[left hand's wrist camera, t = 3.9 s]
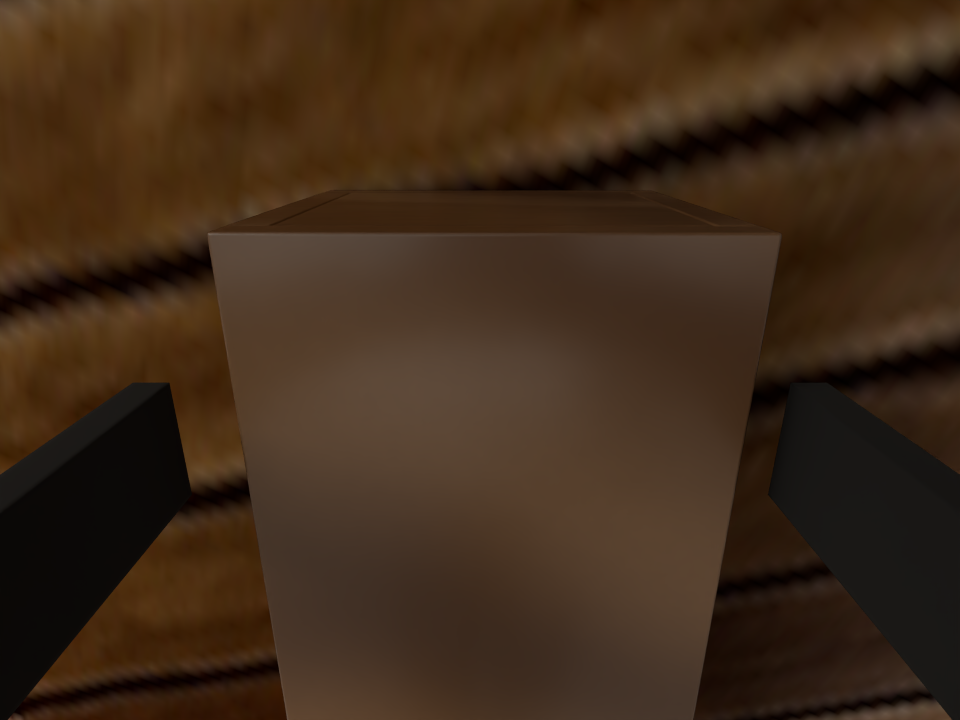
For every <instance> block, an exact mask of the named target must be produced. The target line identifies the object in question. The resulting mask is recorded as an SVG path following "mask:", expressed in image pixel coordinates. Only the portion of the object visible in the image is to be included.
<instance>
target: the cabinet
mask: <svg viewBox="0 0 960 720" xmlns="http://www.w3.org/2000/svg"><path fill="white" fill-rule="evenodd" d="M207 237H208V243H209V249H210V255H211V261H212V267H213V273H214V279H215V285H216V291H217V297H218V303H219V309H220V315H221V321H222V327H223V333H224V339H225V345H226V351H227V358H228V364H229V370H230V376H231V382H232V388H233V394H234V400H235V406H236V412H237V418H238V424H239V430H240V436H241V442H242V448H243V454H244V460H245V466H246V472H247V478H248V484H249V490H250V496H251V502H252V508H253V515H254V521H255V527H256V533H257V539H258V545H259V551H260V557H261V563H262V569H263V575H264V581H265V587H266V593H267V599H268V605H269V611H270V617H271V623H272V629H273V635H274V641H275V647H276V653H277V659H278V666H279V672H280V678H281V684H282V690H283V696H284V702H285V708H286V714H287V720H693V718H694V713H695V707H696V702H697V696H698V691H699V685H700V680H701V675H702V669H703V664H704V658H705V653H706V647H707V642H708V636H709V631H710V625H711V620H712V614H713V609H714V604H715V598H716V593H717V587H718V582H719V576H720V571H721V565H722V560H723V554H724V549H725V544H726V538H727V533H728V527H729V522H730V516H731V511H732V505H733V500H734V494H735V489H736V484H737V478H738V473H739V467H740V462H741V456H742V451H743V445H744V440H745V434H746V429H747V423H748V418H749V413H750V407H751V402H752V396H753V391H754V385H755V380H756V374H757V369H758V363H759V358H760V353H761V347H762V342H763V336H764V331H765V325H766V320H767V314H768V309H769V303H770V298H771V292H772V287H773V282H774V276H775V271H776V265H777V260H778V254H779V249H780V243H781V238H782V235H781V233H779V232H776V231H773V230H770V229H767V228H764V227H761V226H757V225H754V224H751V223H748V222H745V221H742V220H739V219H736V218H733V217H730V216H727V215H724V214H721V213H718V212H715V211H712V210H709V209H706V208H702V207H699V206H696V205H693V204H690V203H687V202H684V201H681V200H678V199H675V198H672V197H669V196H666V195H663V194H660V193H657V192H654V191H592V190H330V191H327V192H325V193H321V194H318V195H315V196H312V197H309V198H306V199H303V200H300V201H297V202H294V203H291V204H288V205H285V206H282V207H279V208H277V209H274V210H271V211H268V212H265V213H262V214H259V215H256V216H253V217H250V218H247V219H244V220H241V221H238V222H236V223H233V224H230V225H227V226H224V227H222V228H219V229H216V230H213V231H210V232H208V234H207Z"/></svg>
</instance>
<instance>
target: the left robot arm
mask: <svg viewBox="0 0 960 720" xmlns="http://www.w3.org/2000/svg"><path fill="white" fill-rule="evenodd" d="M191 495H192V493H191V488H190V483H189V478H188V473H187V468H186V463H185V458H184V453H183V448H182V443H181V438H180V433H179V428H178V423H177V419H176V414H175V409H174V404H173V399H172V394H171V389H170V384H169V383H132V384H131V385H129V386H128V387H126V388H125V389H123V390H122V391H120V392H119V393H118V394H116V395H115V396H113V397H112V398H110V399H109V400H107V401H106V402H105V403H103V404H102V405H100V406H99V407H97V408H96V409H94V410H93V411H92V412H90V413H89V414H87V415H86V416H84V417H83V418H81V419H80V420H79V421H77V422H76V423H74V424H73V425H71V426H70V427H68V428H67V429H66V430H64V431H63V432H61V433H60V434H58V435H57V436H56V437H54V438H53V439H51V440H50V441H48V442H47V443H45V444H44V445H43V446H41V447H40V448H38V449H37V450H35V451H34V452H32V453H31V454H30V455H28V456H27V457H25V458H24V459H22V460H21V461H19V462H18V463H17V464H15V465H14V466H12V467H11V468H9V469H8V470H6V471H5V472H4V473H2V474H1V475H0V720H8V719H9V717H10V716H11V715H12V714H13V713H14V711H15V710H16V709H17V708H18V706H19V705H20V704H21V703H22V702H23V700H24V699H25V698H26V697H27V695H28V694H29V693H30V692H31V691H32V689H33V688H34V687H35V686H36V684H37V683H38V682H39V681H40V680H41V678H42V677H43V676H44V675H45V673H46V672H47V671H48V670H49V669H50V667H51V666H52V665H53V664H54V662H55V661H56V660H57V659H58V658H59V656H60V655H61V654H62V653H63V651H64V650H65V649H66V648H67V647H68V645H69V644H70V643H71V642H72V640H73V639H74V638H75V637H76V636H77V634H78V633H79V632H80V631H81V629H82V628H83V627H84V626H85V625H86V623H87V622H88V621H89V620H90V618H91V617H92V616H93V615H94V614H95V612H96V611H97V610H98V609H99V607H100V606H101V605H102V604H103V603H104V601H105V600H106V599H107V598H108V596H109V595H110V594H111V593H112V592H113V590H114V589H115V588H116V587H117V585H118V584H119V583H120V582H121V581H122V579H123V578H124V577H125V576H126V574H127V573H128V572H129V571H130V570H131V568H132V567H133V566H134V565H135V563H136V562H137V561H138V560H139V559H140V557H141V556H142V555H143V554H144V552H145V551H146V550H147V549H148V548H149V546H150V545H151V544H152V543H153V541H154V540H155V539H156V538H157V537H158V535H159V534H160V533H161V532H162V530H163V529H164V528H165V527H166V526H167V524H168V523H169V522H170V521H171V519H172V518H173V517H174V516H175V515H176V513H177V512H178V511H179V510H180V508H181V507H182V506H183V505H184V504H185V502H186V501H187V500H188V499H189V497H190V496H191ZM768 495H769V496H770V497H771V499H772V500H773V501H774V502H775V504H776V505H777V506H778V507H779V508H780V510H781V511H782V512H783V513H784V515H785V516H786V517H787V518H788V519H789V521H790V522H791V523H792V524H793V526H794V527H795V528H796V529H797V530H798V532H799V533H800V534H801V535H802V537H803V538H804V539H805V540H806V541H807V543H808V544H809V545H810V546H811V548H812V549H813V550H814V551H815V552H816V554H817V555H818V556H819V557H820V559H821V560H822V561H823V562H824V563H825V565H826V566H827V567H828V568H829V570H830V571H831V572H832V573H833V574H834V576H835V577H836V578H837V579H838V581H839V582H840V583H841V584H842V585H843V587H844V588H845V589H846V590H847V592H848V593H849V594H850V595H851V596H852V598H853V599H854V600H855V601H856V603H857V604H858V605H859V606H860V607H861V609H862V610H863V611H864V612H865V614H866V615H867V616H868V617H869V618H870V620H871V621H872V622H873V623H874V625H875V626H876V627H877V628H878V629H879V631H880V632H881V633H882V634H883V636H884V637H885V638H886V639H887V640H888V642H889V643H890V644H891V645H892V647H893V648H894V649H895V650H896V651H897V653H898V654H899V655H900V656H901V658H902V659H903V660H904V661H905V662H906V664H907V665H908V666H909V667H910V669H911V670H912V671H913V672H914V673H915V675H916V676H917V677H918V678H919V680H920V681H921V682H922V683H923V684H924V686H925V687H926V688H927V689H928V691H929V692H930V693H931V694H932V695H933V697H934V698H935V699H936V700H937V702H938V703H939V704H940V705H941V706H942V708H943V709H944V710H945V711H946V713H947V714H948V715H949V716H950V717H951V719H952V720H960V475H959V474H958V473H956V472H955V471H954V470H952V469H951V468H949V467H948V466H946V465H945V464H943V463H942V462H941V461H939V460H938V459H936V458H935V457H933V456H932V455H930V454H929V453H928V452H926V451H925V450H923V449H922V448H920V447H919V446H917V445H916V444H915V443H913V442H912V441H910V440H909V439H907V438H906V437H904V436H903V435H902V434H900V433H899V432H897V431H896V430H894V429H893V428H891V427H890V426H889V425H887V424H886V423H884V422H883V421H881V420H880V419H879V418H877V417H876V416H874V415H873V414H871V413H870V412H868V411H867V410H866V409H864V408H863V407H861V406H860V405H858V404H857V403H855V402H854V401H853V400H851V399H850V398H848V397H847V396H845V395H844V394H842V393H841V392H840V391H838V390H837V389H835V388H834V387H832V386H831V385H829V384H828V383H791V384H790V389H789V394H788V399H787V404H786V409H785V414H784V419H783V423H782V428H781V433H780V438H779V443H778V448H777V453H776V458H775V463H774V468H773V473H772V478H771V483H770V488H769V493H768Z"/></svg>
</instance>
